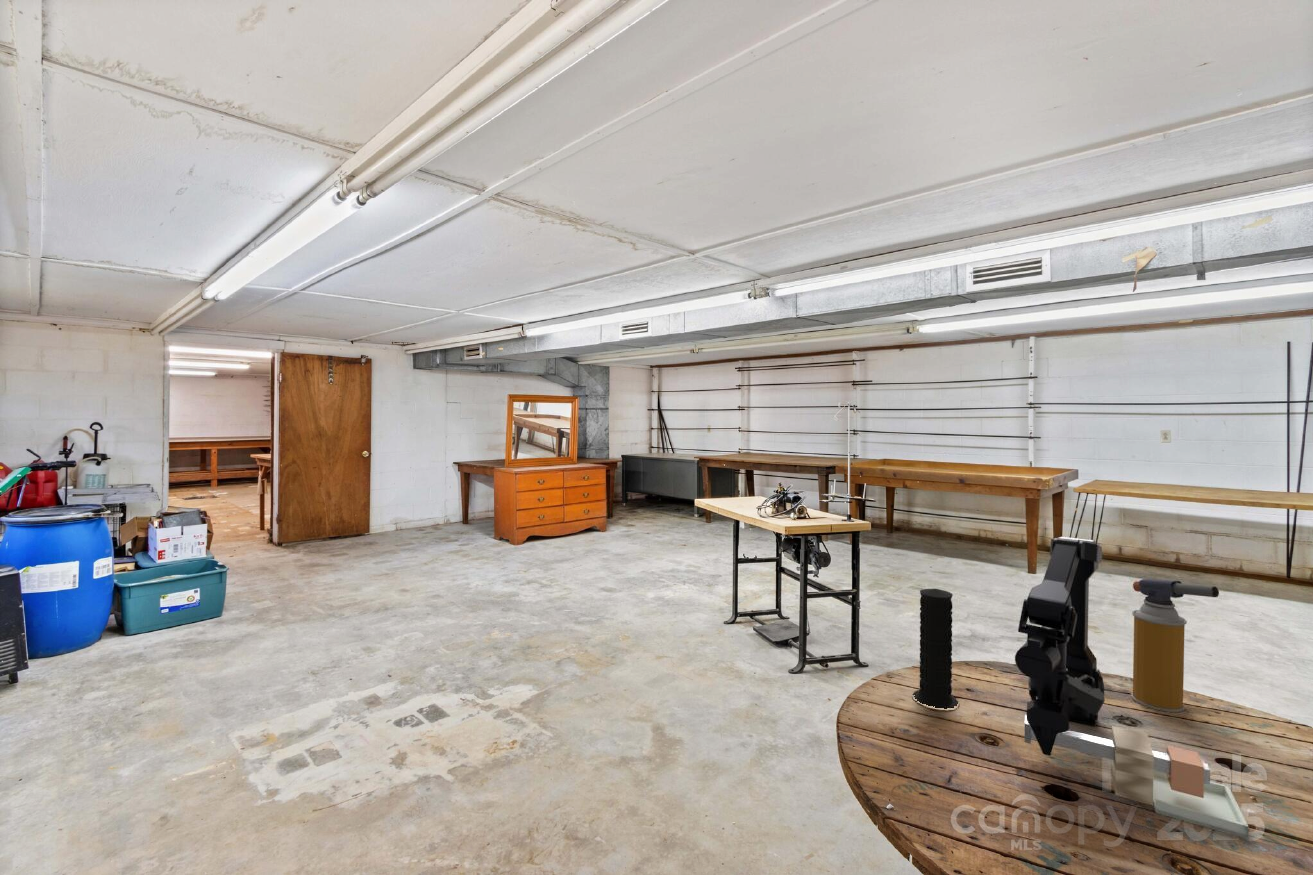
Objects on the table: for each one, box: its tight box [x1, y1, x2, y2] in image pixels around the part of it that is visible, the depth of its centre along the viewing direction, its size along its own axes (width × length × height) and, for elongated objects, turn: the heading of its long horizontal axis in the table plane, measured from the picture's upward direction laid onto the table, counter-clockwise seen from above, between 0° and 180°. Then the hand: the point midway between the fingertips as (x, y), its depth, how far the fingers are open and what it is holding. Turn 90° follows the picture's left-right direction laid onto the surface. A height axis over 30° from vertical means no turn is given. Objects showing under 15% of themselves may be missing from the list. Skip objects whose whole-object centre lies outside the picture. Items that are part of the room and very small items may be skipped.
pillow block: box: [1110, 725, 1154, 807], centre depth 102 cm, size 5×8×9 cm, turn 146°
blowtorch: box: [1130, 578, 1220, 713], centre depth 130 cm, size 9×16×30 cm, turn 15°
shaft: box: [1023, 714, 1211, 785], centre depth 104 cm, size 26×4×4 cm, turn 56°
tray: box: [1153, 771, 1249, 840], centre depth 98 cm, size 11×12×2 cm
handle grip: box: [912, 588, 959, 709], centre depth 134 cm, size 10×26×10 cm
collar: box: [1166, 744, 1204, 798], centre depth 98 cm, size 4×5×5 cm
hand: (1046, 742), depth 109 cm, fingers open, 9 cm apart
